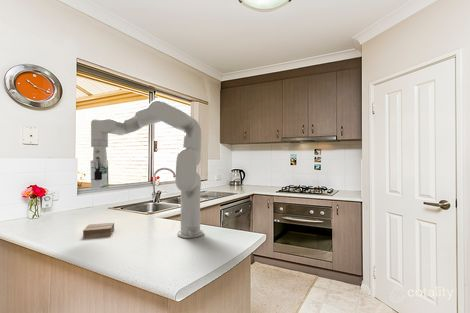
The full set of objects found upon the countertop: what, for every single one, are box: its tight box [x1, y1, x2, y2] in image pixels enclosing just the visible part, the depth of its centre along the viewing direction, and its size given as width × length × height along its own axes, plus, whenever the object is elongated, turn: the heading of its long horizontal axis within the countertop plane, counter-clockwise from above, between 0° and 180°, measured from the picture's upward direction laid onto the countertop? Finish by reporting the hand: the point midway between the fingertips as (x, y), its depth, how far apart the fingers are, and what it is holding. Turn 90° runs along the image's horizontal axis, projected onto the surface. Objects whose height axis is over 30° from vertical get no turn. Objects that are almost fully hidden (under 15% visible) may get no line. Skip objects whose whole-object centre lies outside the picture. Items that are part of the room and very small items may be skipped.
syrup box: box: [90, 159, 110, 190], centre depth 130 cm, size 6×6×14 cm
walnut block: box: [82, 222, 115, 239], centre depth 130 cm, size 12×12×4 cm
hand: (99, 179), depth 130 cm, fingers closed on syrup box, 7 cm apart
